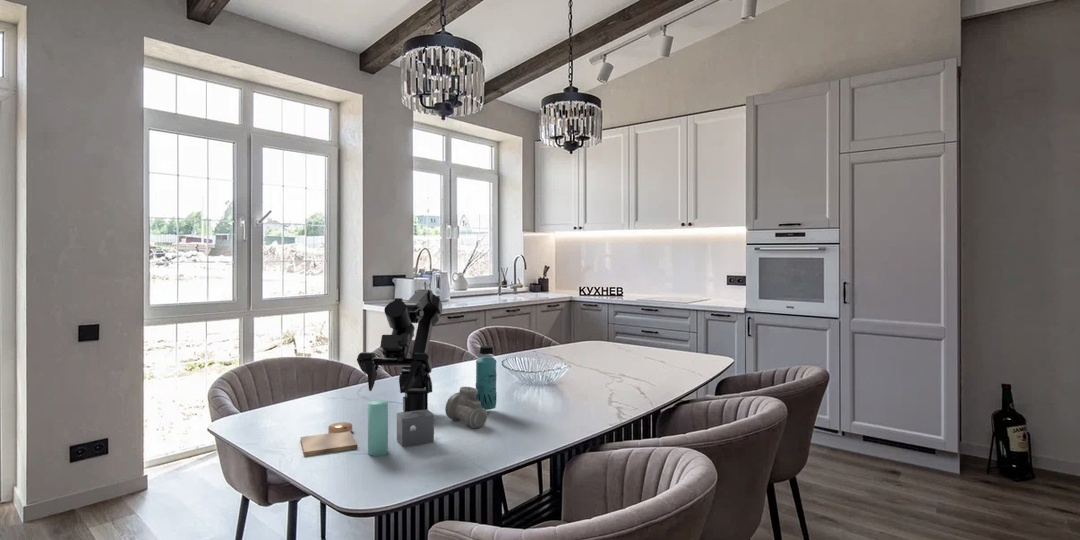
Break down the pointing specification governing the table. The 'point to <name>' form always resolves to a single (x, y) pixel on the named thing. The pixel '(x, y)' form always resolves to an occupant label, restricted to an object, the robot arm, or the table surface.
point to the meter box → (415, 428)
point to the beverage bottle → (486, 379)
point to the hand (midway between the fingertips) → (387, 390)
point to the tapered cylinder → (377, 428)
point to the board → (328, 443)
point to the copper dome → (340, 427)
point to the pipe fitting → (466, 408)
